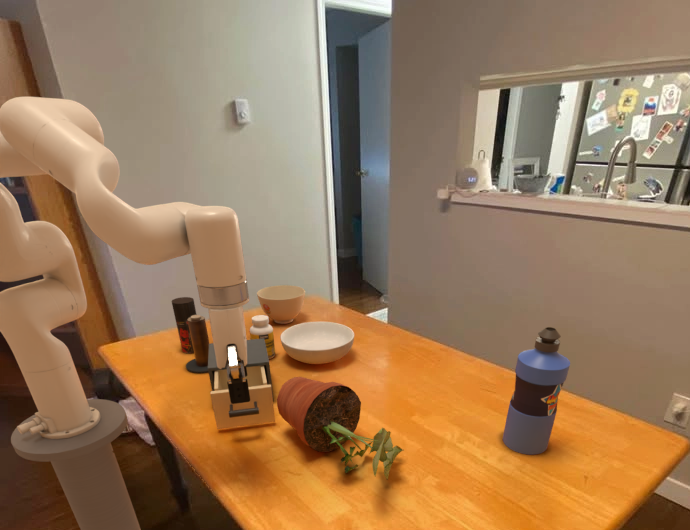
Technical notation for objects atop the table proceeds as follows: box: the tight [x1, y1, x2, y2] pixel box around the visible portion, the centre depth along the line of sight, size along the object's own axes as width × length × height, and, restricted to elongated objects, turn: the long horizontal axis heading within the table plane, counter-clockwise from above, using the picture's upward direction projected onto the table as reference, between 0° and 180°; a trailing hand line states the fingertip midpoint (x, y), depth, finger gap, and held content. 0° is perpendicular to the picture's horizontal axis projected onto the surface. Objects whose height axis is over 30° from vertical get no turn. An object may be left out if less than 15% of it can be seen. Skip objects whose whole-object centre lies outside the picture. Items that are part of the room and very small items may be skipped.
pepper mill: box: [187, 314, 210, 367], centre depth 124 cm, size 4×4×14 cm
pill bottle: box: [249, 314, 276, 360], centre depth 130 cm, size 6×6×12 cm
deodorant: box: [171, 296, 198, 355], centre depth 134 cm, size 6×6×15 cm
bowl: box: [256, 284, 306, 325], centre depth 156 cm, size 16×16×10 cm
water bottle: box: [502, 326, 571, 456], centre depth 90 cm, size 9×9×25 cm
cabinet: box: [208, 338, 274, 403], centre depth 113 cm, size 15×14×11 cm
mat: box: [185, 358, 209, 374], centre depth 128 cm, size 10×10×1 cm
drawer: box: [210, 365, 276, 430], centre depth 102 cm, size 18×12×9 cm
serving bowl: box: [280, 320, 355, 365], centre depth 132 cm, size 21×21×7 cm
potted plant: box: [276, 376, 404, 481], centre depth 88 cm, size 16×15×35 cm
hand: (239, 388), depth 81 cm, fingers open, 9 cm apart
